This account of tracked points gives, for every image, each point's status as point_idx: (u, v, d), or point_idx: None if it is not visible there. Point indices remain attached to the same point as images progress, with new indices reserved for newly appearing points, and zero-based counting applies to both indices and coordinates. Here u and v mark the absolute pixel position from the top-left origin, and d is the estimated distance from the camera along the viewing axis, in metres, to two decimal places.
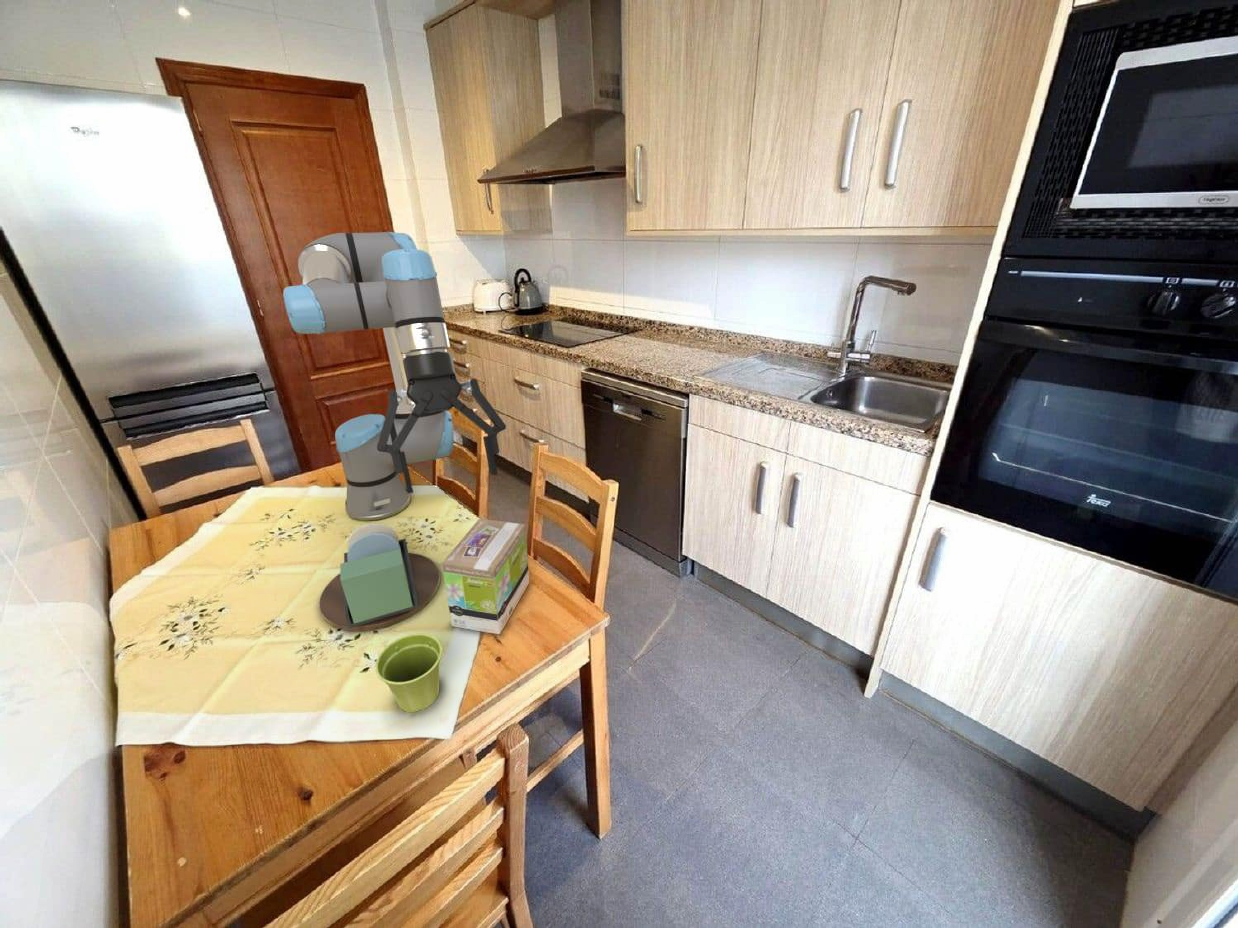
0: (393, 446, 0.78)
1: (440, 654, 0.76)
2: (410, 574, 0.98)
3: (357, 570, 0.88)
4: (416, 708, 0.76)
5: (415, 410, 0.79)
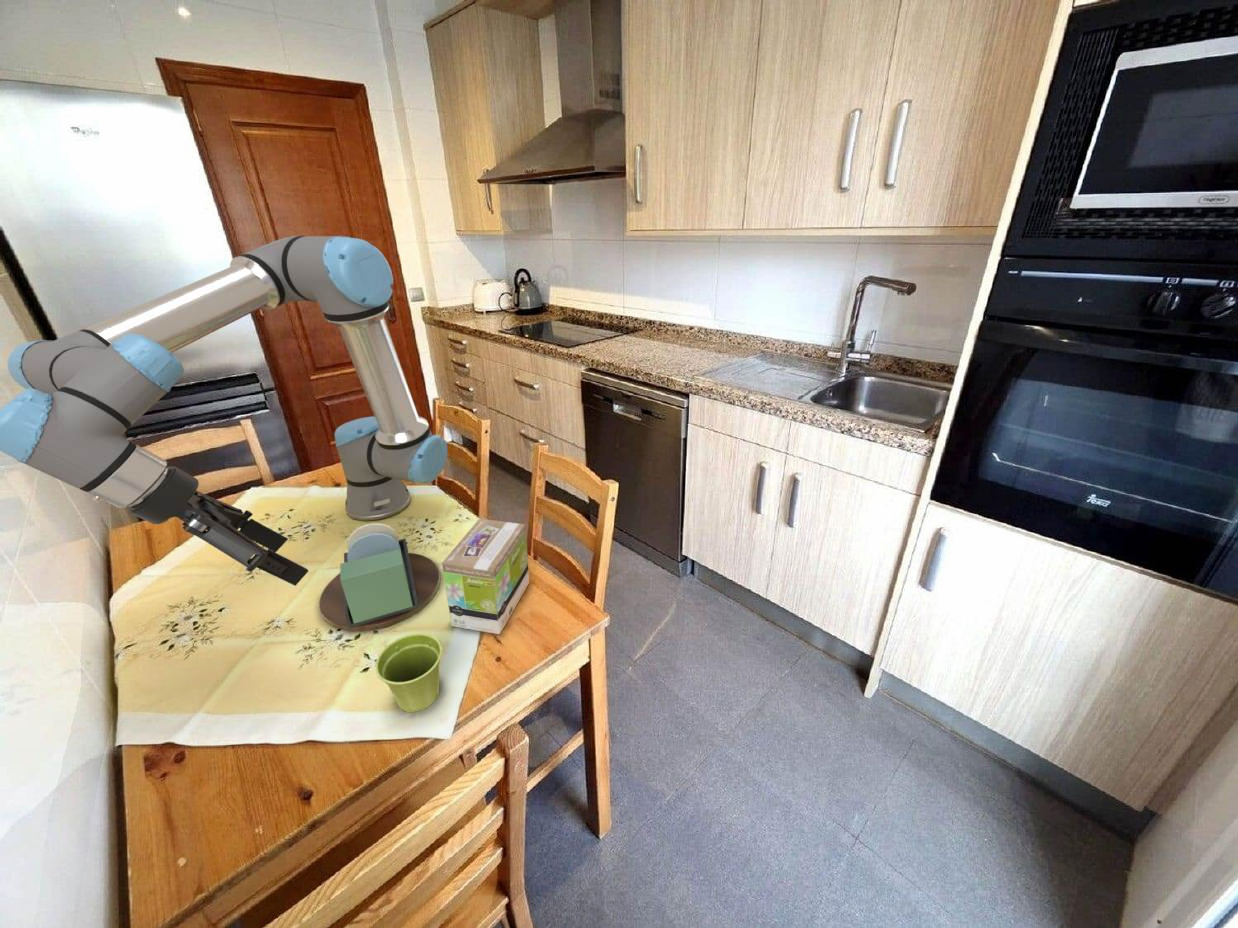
0: None
1: (440, 654, 0.76)
2: (410, 574, 0.98)
3: (357, 570, 0.88)
4: (416, 708, 0.76)
5: None
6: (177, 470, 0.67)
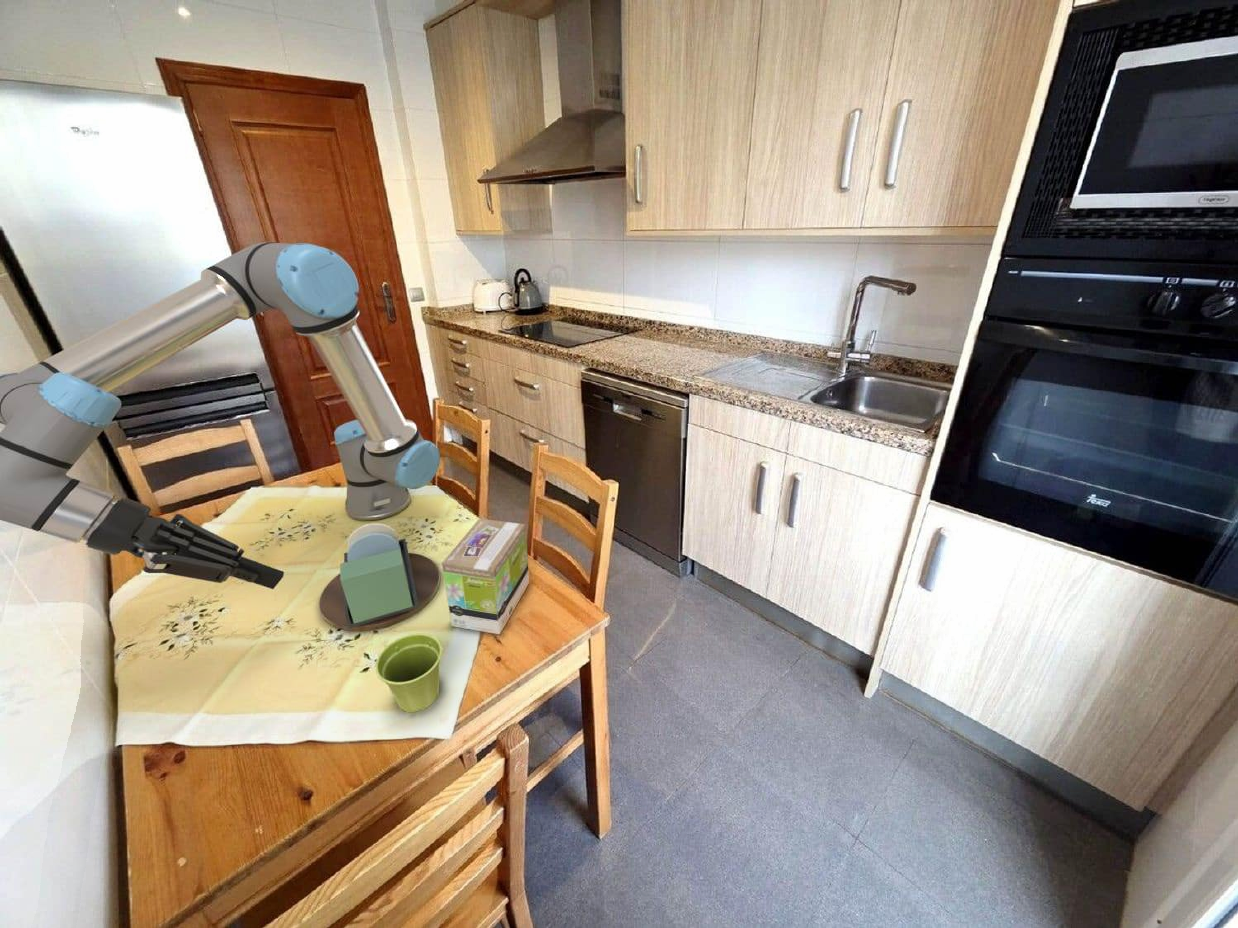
0: None
1: (440, 654, 0.76)
2: (410, 574, 0.98)
3: (357, 570, 0.88)
4: (416, 708, 0.76)
5: None
6: (121, 505, 0.69)
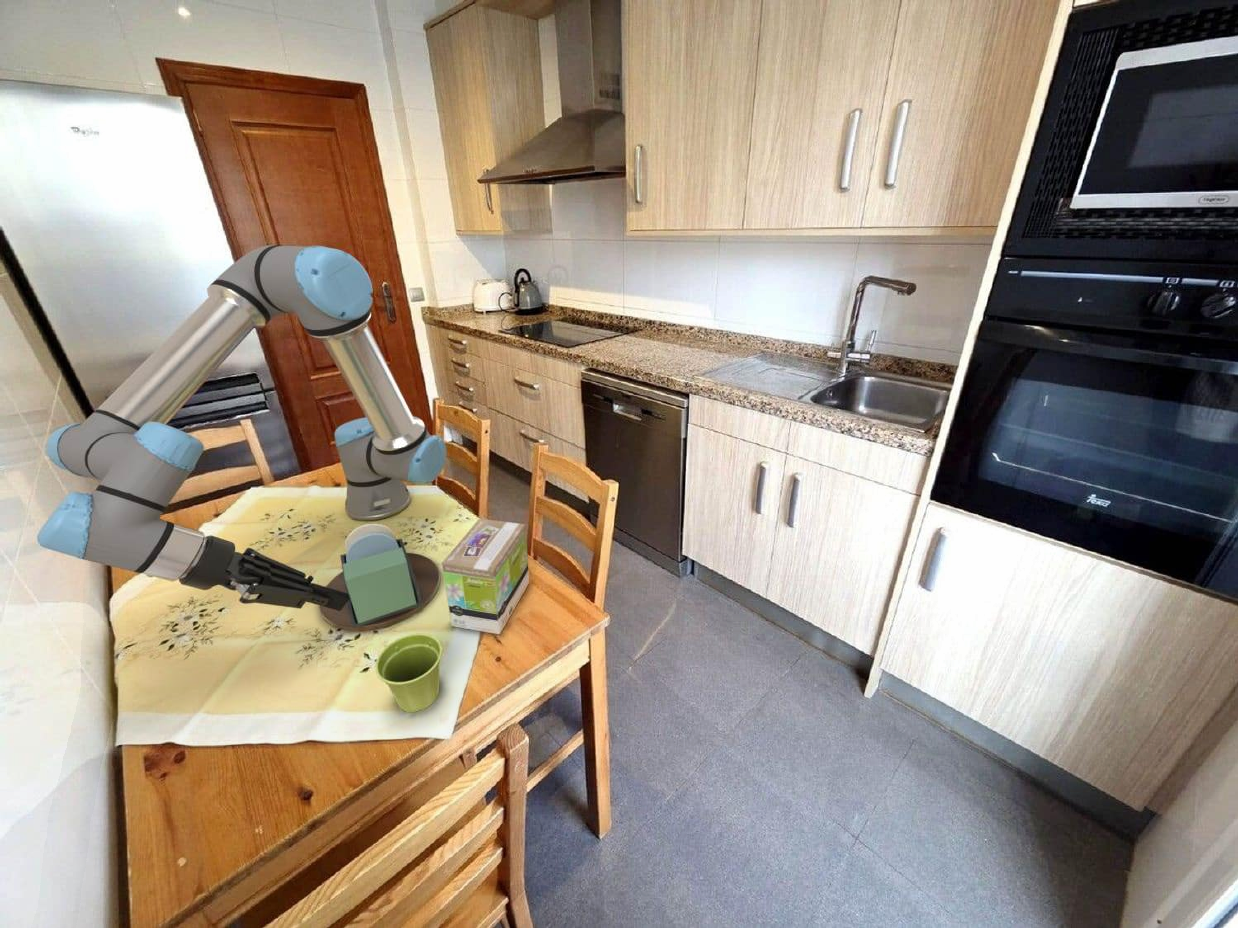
0: None
1: (440, 654, 0.76)
2: (411, 572, 0.99)
3: (361, 569, 0.88)
4: (416, 708, 0.76)
5: None
6: (213, 542, 0.73)
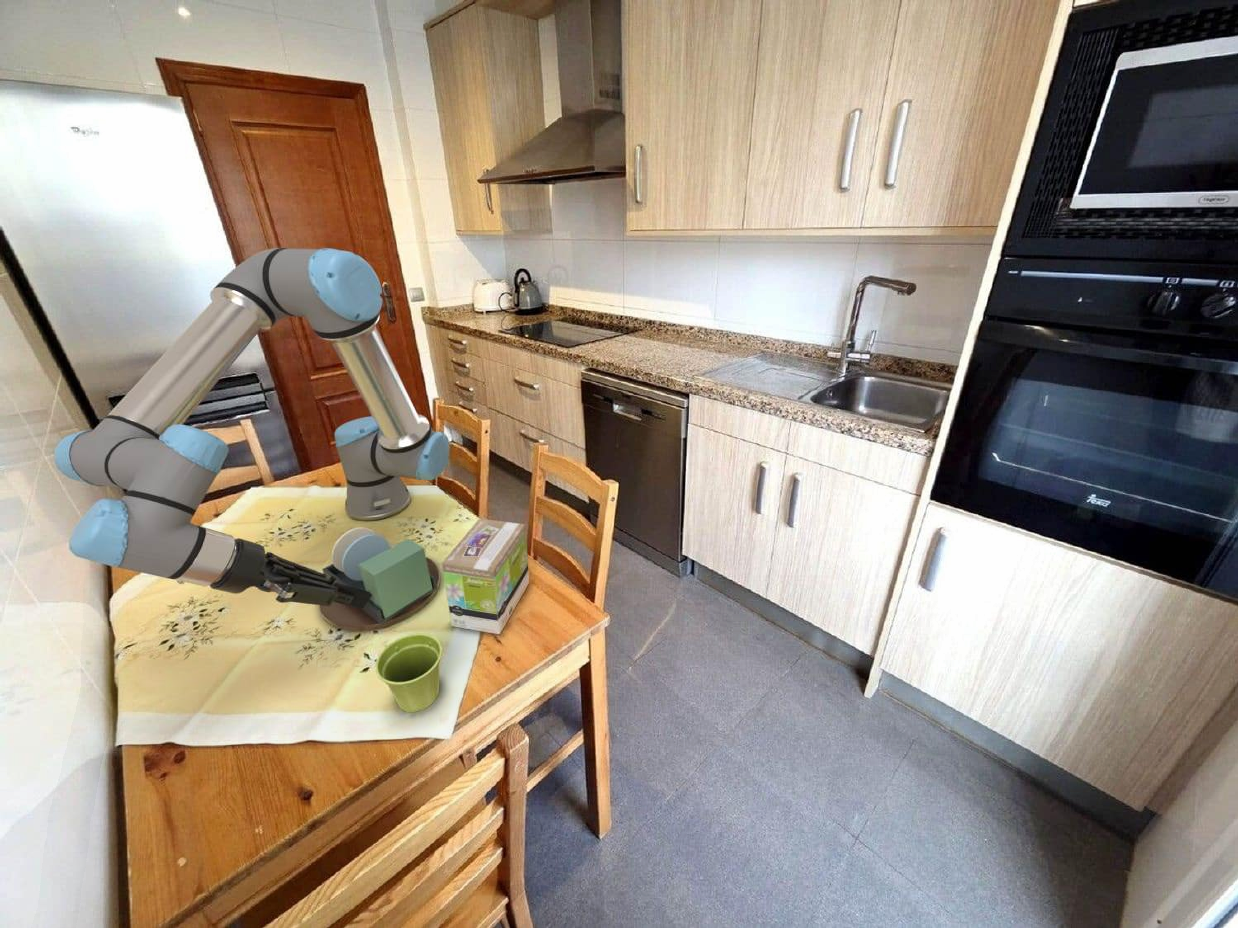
0: None
1: (440, 654, 0.76)
2: None
3: (382, 564, 0.89)
4: (416, 708, 0.76)
5: None
6: (244, 543, 0.73)
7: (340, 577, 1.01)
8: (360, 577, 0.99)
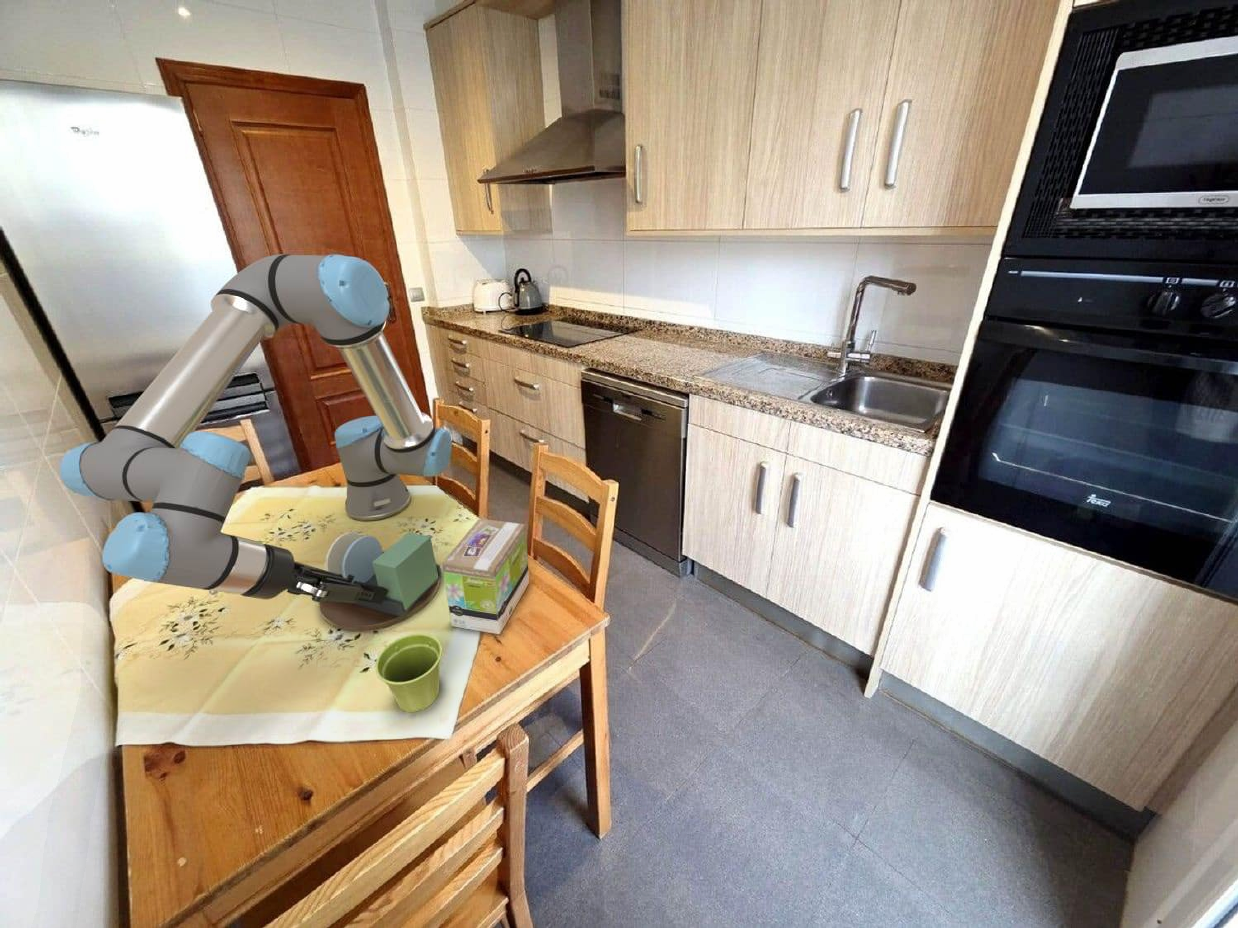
0: None
1: (440, 654, 0.76)
2: None
3: (397, 557, 0.91)
4: (416, 708, 0.76)
5: None
6: (273, 548, 0.72)
7: None
8: (359, 581, 0.98)
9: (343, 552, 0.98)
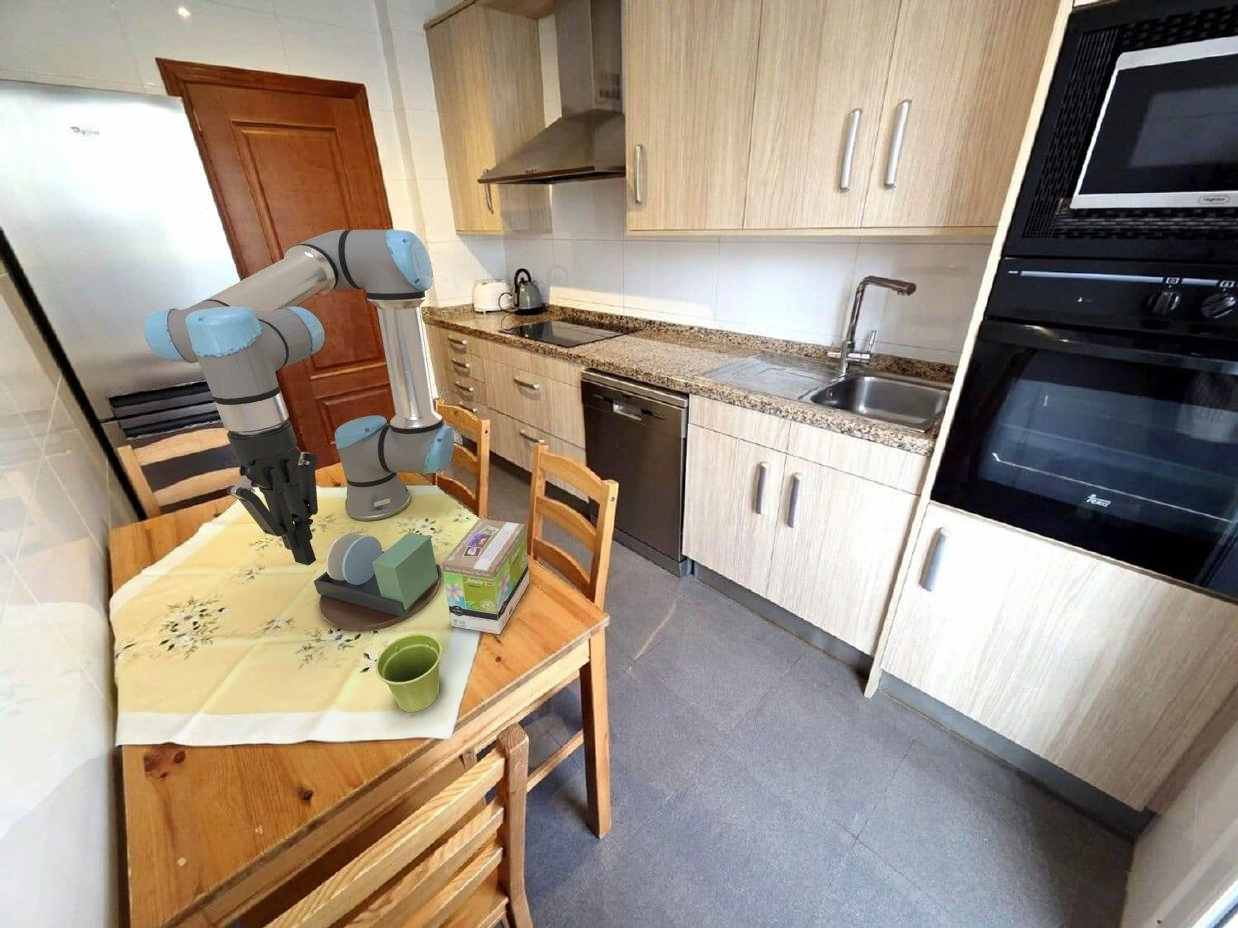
0: (295, 514, 0.78)
1: (440, 654, 0.76)
2: None
3: (397, 557, 0.91)
4: (416, 708, 0.76)
5: None
6: (274, 435, 0.68)
7: None
8: (359, 581, 0.98)
9: (343, 552, 0.98)
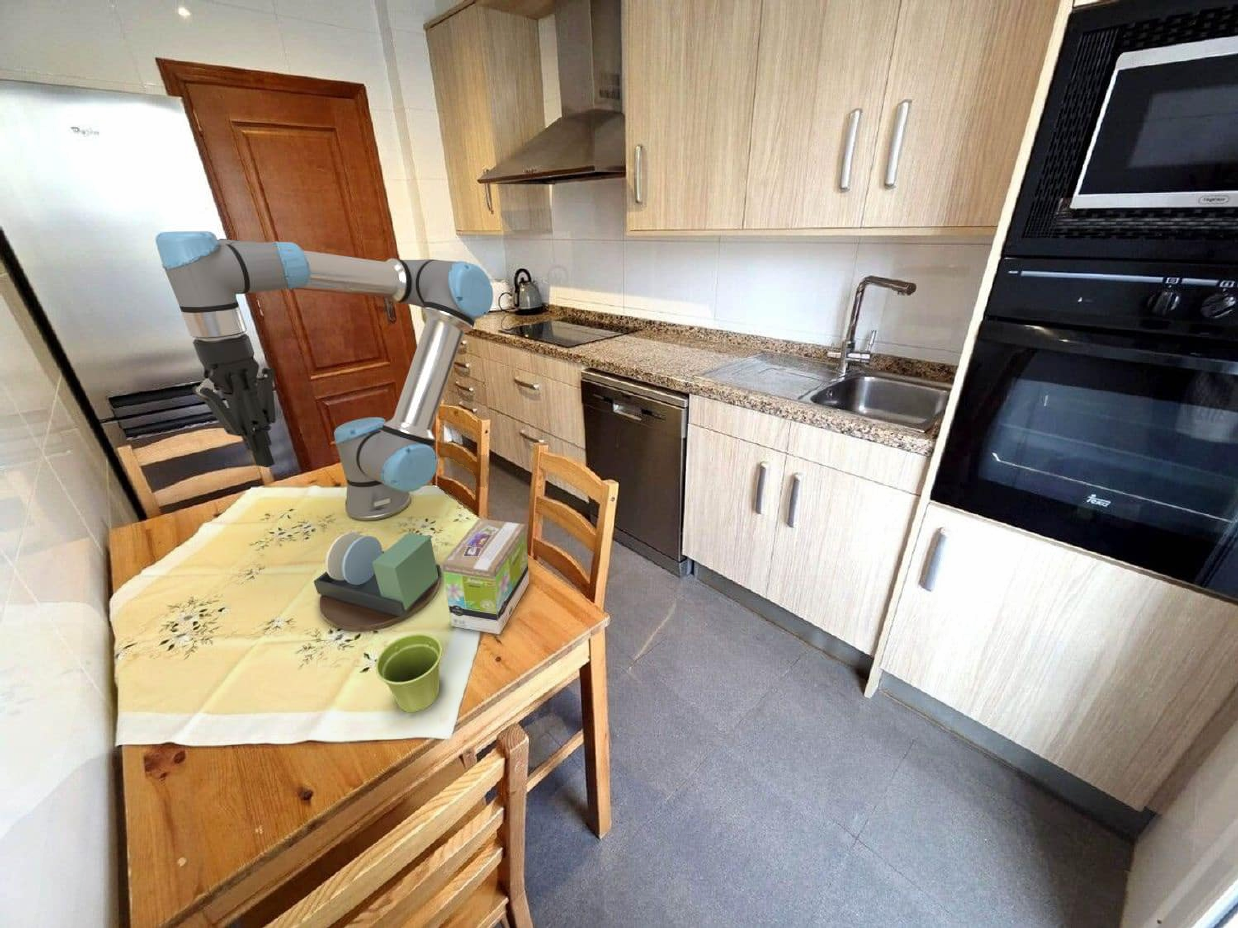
0: None
1: (440, 654, 0.76)
2: None
3: (397, 557, 0.91)
4: (416, 708, 0.76)
5: None
6: (233, 343, 0.80)
7: None
8: (359, 581, 0.98)
9: (343, 552, 0.98)
